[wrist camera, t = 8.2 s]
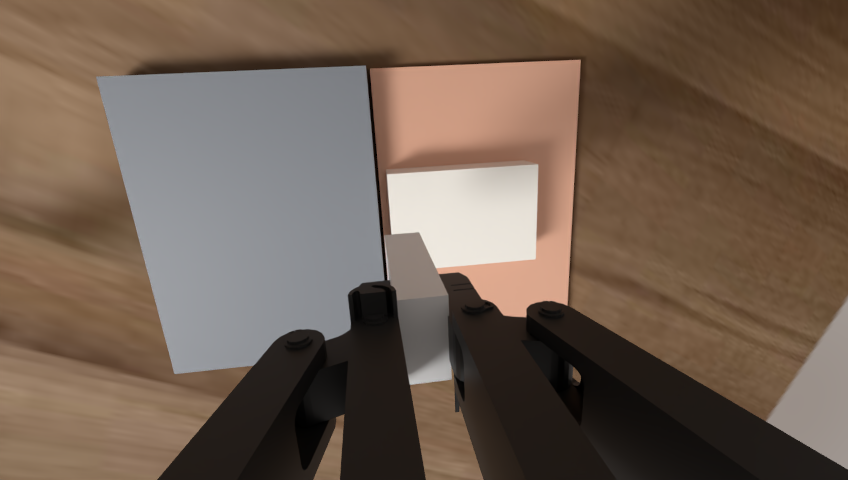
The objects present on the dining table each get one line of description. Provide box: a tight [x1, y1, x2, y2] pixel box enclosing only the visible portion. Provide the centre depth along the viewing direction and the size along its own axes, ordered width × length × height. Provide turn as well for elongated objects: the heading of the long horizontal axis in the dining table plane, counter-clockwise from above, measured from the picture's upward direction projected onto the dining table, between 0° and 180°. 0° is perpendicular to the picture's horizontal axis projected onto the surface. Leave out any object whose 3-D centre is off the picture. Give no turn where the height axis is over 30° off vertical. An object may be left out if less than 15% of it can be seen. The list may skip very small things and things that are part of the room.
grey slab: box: [96, 66, 385, 374], centre depth 26 cm, size 14×18×2 cm
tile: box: [386, 160, 538, 268], centre depth 26 cm, size 9×6×2 cm, turn 93°
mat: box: [370, 60, 581, 317], centre depth 28 cm, size 13×18×1 cm
